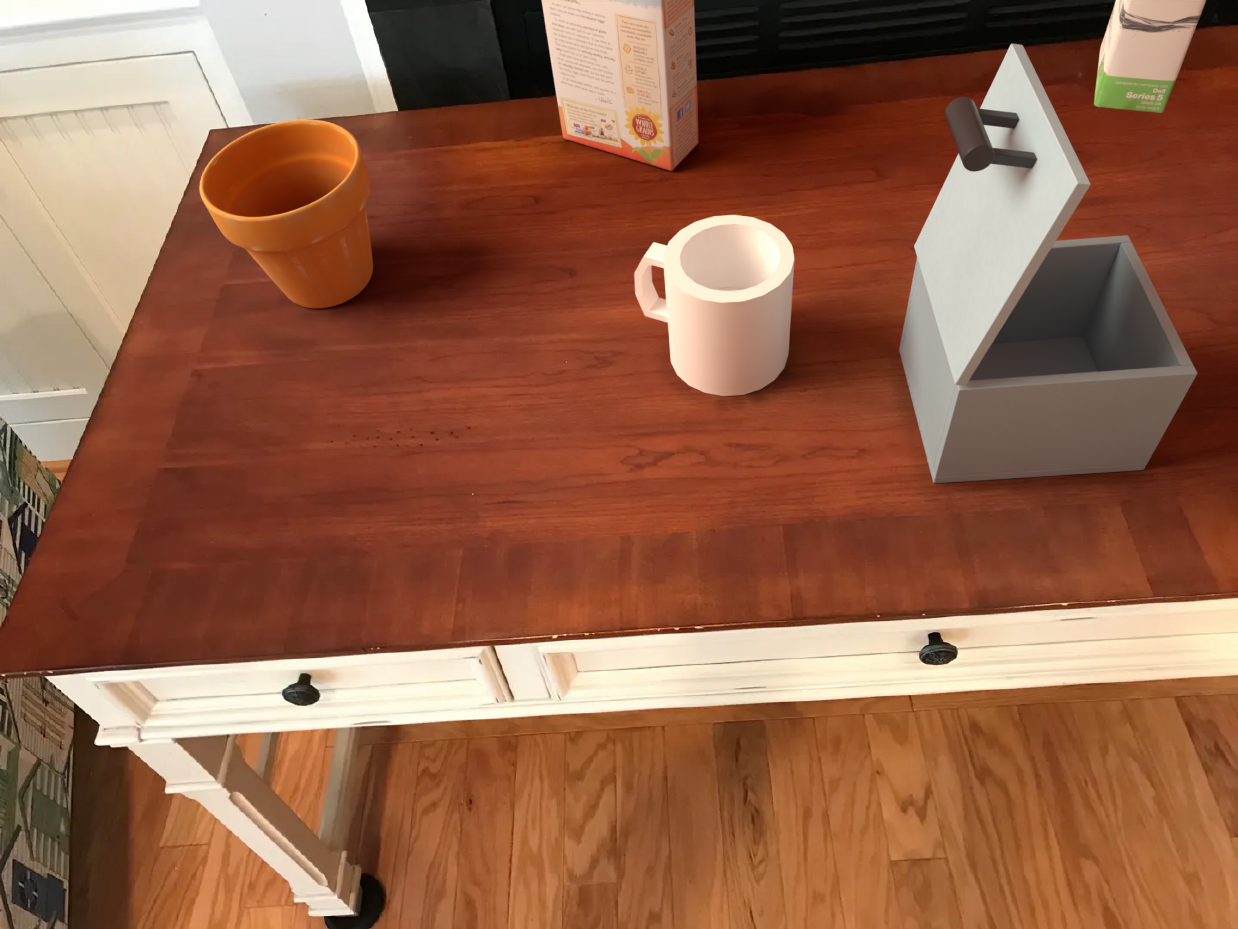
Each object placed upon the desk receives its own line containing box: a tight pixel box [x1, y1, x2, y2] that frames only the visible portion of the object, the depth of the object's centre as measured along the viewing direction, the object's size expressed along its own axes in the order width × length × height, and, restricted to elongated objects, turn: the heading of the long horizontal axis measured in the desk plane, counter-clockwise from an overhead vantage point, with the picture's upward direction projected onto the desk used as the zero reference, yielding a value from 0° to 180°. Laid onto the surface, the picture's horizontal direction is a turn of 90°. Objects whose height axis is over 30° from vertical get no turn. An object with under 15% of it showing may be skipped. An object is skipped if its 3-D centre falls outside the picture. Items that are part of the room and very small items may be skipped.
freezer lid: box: [913, 43, 1092, 386], centre depth 63 cm, size 16×14×5 cm
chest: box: [898, 234, 1198, 484], centre depth 74 cm, size 16×14×11 cm
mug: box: [633, 214, 795, 397], centre depth 81 cm, size 14×10×11 cm
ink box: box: [1093, 0, 1207, 114], centre depth 69 cm, size 9×5×12 cm, turn 159°
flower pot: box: [198, 119, 374, 309], centre depth 91 cm, size 14×14×13 cm
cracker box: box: [541, 0, 700, 172], centre depth 96 cm, size 14×6×21 cm, turn 57°
